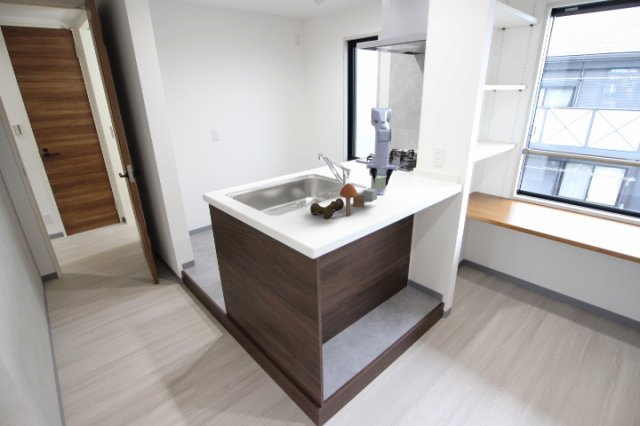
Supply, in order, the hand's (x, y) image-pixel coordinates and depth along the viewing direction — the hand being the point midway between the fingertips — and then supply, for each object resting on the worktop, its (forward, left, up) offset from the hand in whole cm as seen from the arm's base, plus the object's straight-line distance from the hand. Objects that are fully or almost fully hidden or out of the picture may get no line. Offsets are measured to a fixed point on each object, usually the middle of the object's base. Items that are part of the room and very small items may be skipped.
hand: (380, 184), depth 153 cm
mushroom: (+20, -10, -10) cm, 25 cm away
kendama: (+22, -20, -10) cm, 31 cm away
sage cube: (0, 0, -2) cm, 2 cm away
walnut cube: (+6, -9, -10) cm, 15 cm away
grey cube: (-5, -6, -10) cm, 13 cm away
